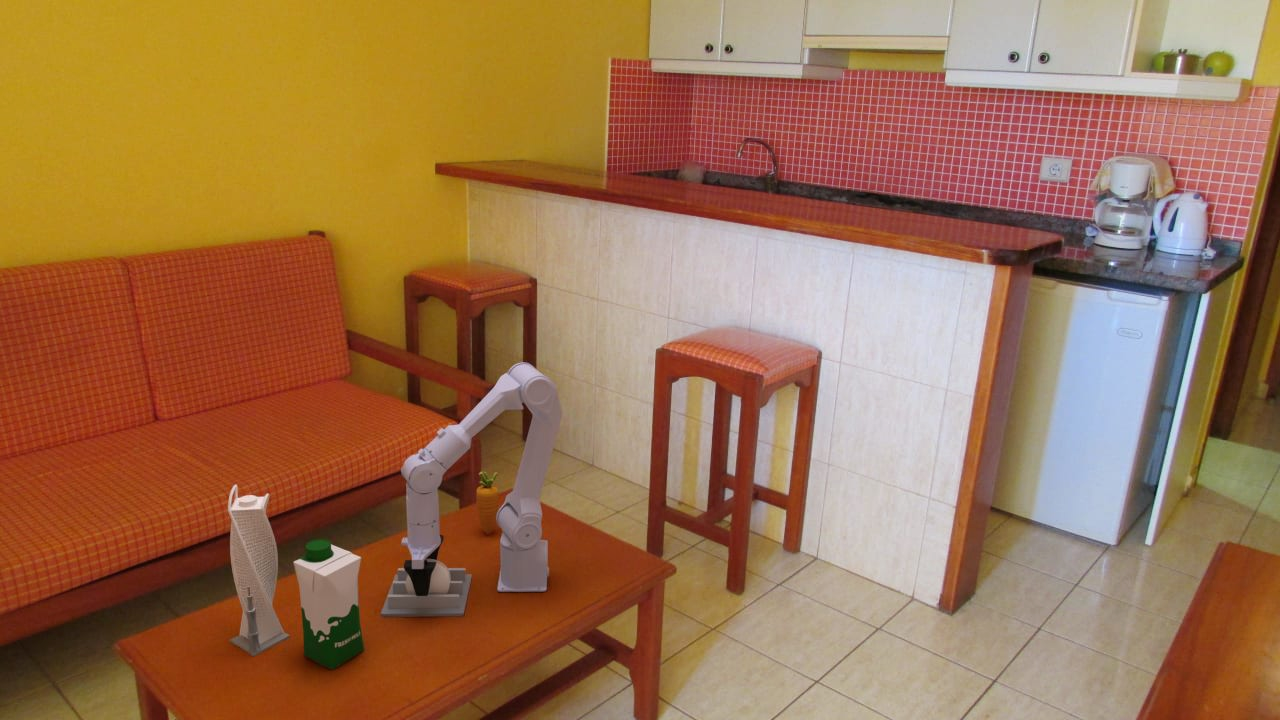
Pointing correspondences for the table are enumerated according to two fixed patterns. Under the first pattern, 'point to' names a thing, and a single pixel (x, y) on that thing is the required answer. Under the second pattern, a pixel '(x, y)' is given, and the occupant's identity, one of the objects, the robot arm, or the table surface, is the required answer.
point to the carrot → (487, 502)
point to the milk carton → (329, 603)
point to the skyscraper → (254, 573)
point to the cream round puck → (434, 580)
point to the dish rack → (428, 597)
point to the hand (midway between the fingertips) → (425, 584)
